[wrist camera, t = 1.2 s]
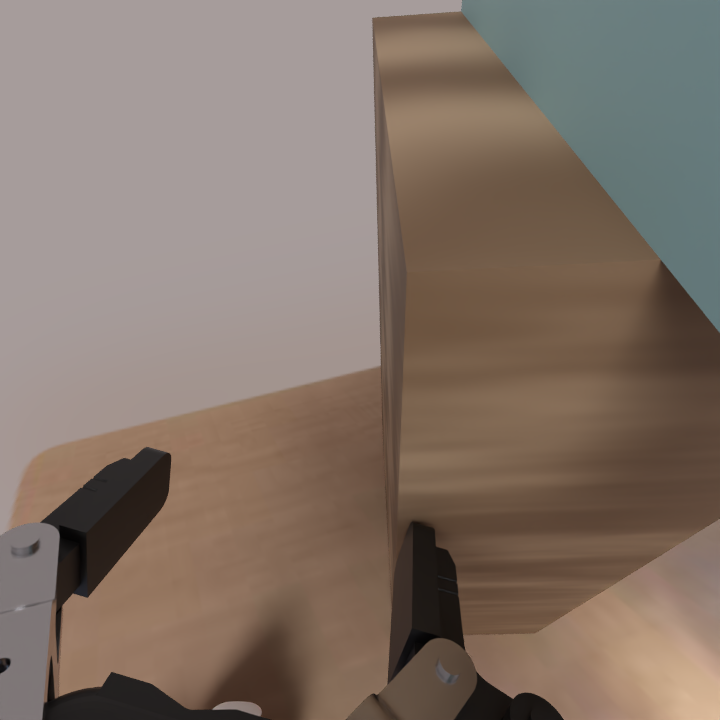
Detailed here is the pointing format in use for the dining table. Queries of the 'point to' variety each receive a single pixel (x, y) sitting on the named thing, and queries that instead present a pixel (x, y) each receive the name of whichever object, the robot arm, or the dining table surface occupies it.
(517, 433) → the pedestal
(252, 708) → the elephant figurine
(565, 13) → the rail
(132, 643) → the dining table surface
